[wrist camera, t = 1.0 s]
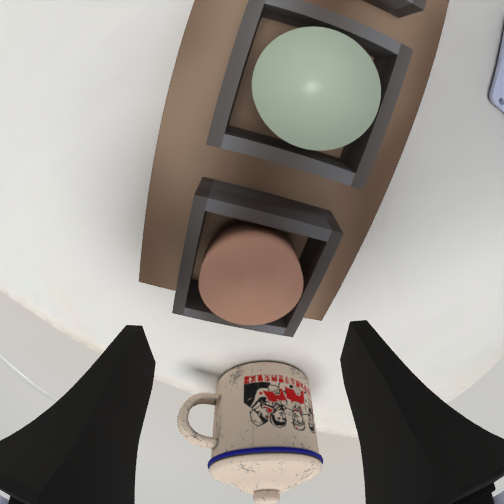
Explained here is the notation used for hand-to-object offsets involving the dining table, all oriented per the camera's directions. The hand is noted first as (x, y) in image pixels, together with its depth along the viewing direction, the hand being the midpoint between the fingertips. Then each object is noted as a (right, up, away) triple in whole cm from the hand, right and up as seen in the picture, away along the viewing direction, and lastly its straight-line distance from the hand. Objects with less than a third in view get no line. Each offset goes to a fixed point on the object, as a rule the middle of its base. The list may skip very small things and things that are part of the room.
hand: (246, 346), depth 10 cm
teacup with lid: (0, -9, +17) cm, 19 cm away
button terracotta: (0, +3, +5) cm, 6 cm away
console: (+3, +12, +4) cm, 13 cm away
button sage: (+3, +10, +1) cm, 10 cm away
